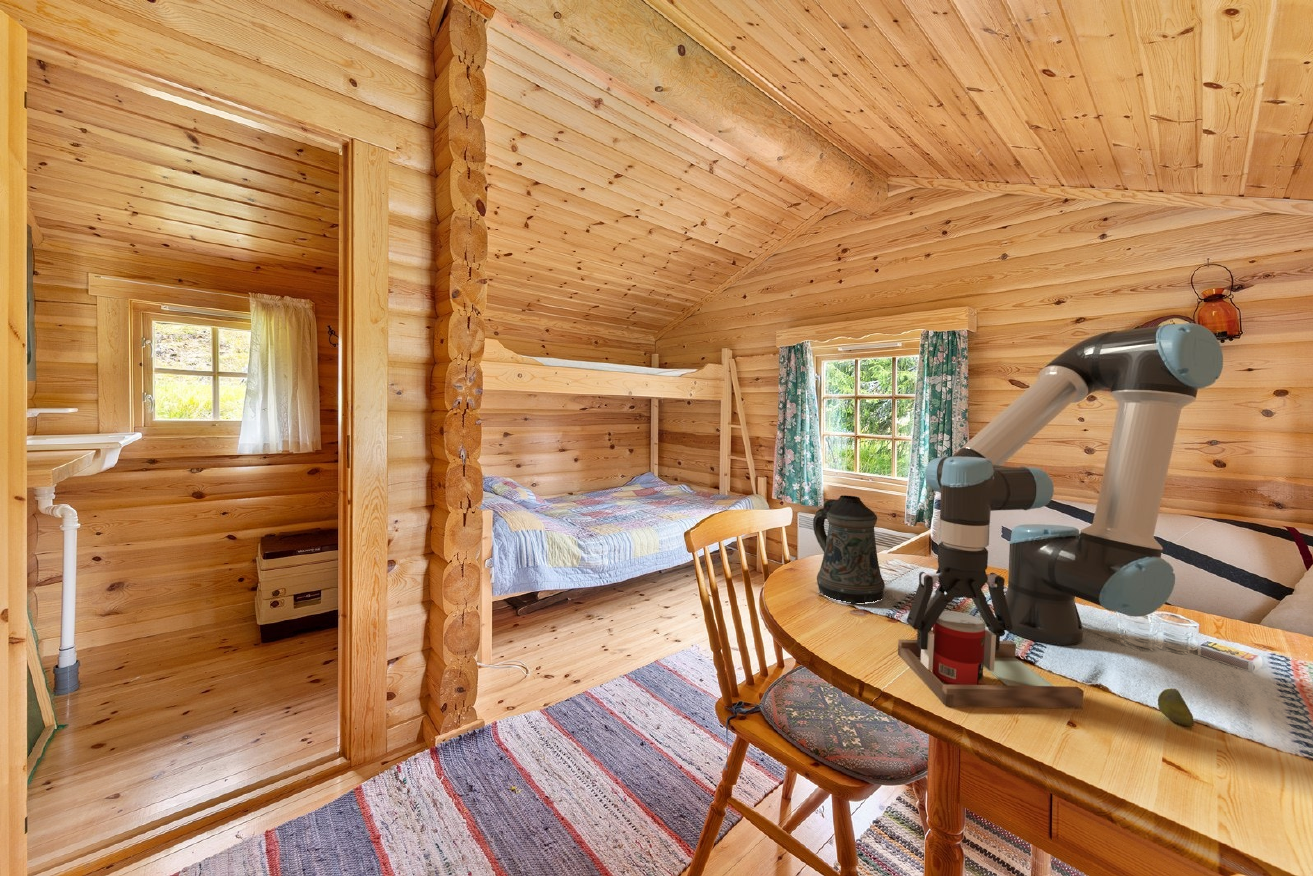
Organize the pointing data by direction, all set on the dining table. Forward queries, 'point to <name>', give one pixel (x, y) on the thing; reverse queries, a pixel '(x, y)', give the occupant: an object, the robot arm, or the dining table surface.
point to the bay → (1017, 691)
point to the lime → (1175, 707)
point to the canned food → (958, 649)
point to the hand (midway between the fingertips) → (956, 666)
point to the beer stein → (848, 551)
